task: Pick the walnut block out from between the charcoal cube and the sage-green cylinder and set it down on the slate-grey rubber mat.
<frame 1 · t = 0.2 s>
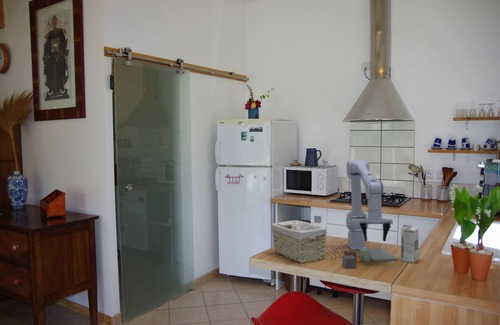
hand: (375, 240, 170), 10 cm above the counter, tool pointing down, fingers open, 7 cm apart
storage basket: (298, 256, 186), on the counter
charcoal cube: (349, 267, 167), on the counter
syrup box: (410, 261, 173), on the counter
sage cylinder: (365, 261, 175), on the counter
slate mat: (377, 255, 182), on the counter
walnut block: (350, 262, 174), on the counter
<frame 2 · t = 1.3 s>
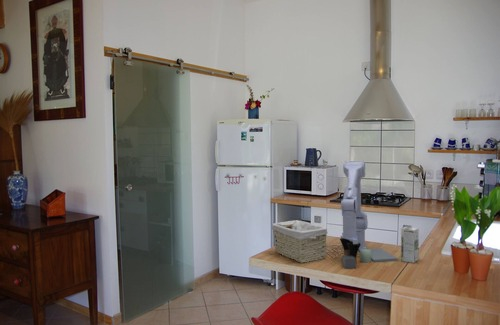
hand: (350, 256, 174), 2 cm above the counter, tool pointing down, fingers open, 7 cm apart
charcoal cube: (349, 267, 167), on the counter, touching gripper
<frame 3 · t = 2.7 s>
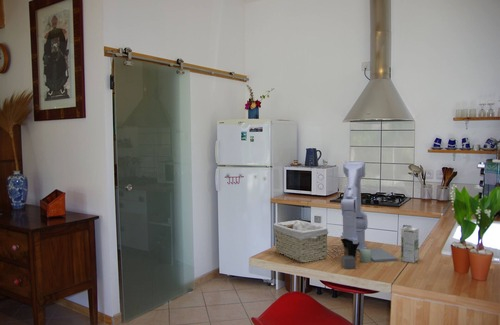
hand: (350, 256, 174), 3 cm above the counter, tool pointing down, fingers closed on walnut block, 4 cm apart
charcoal cube: (348, 267, 167), on the counter
walnut block: (350, 259, 174), point 1 cm above the counter, touching gripper
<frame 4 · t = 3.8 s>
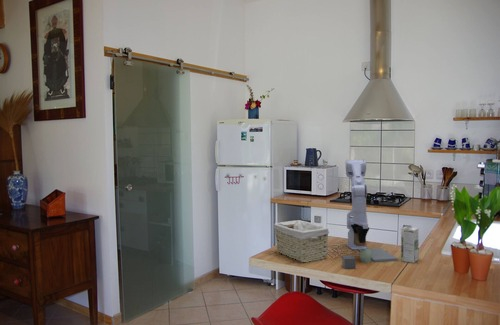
hand: (360, 241, 176), 8 cm above the counter, tool pointing down, fingers closed on walnut block, 4 cm apart
walnut block: (359, 244, 176), point 7 cm above the counter, touching gripper
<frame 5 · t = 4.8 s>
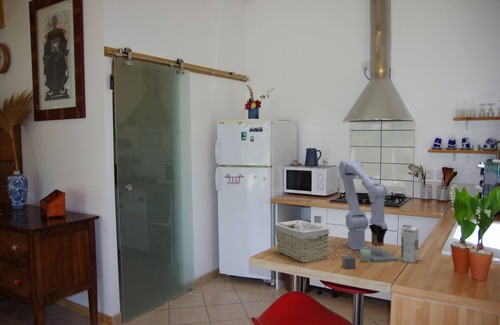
hand: (378, 241, 181), 7 cm above the counter, tool pointing down, fingers closed on walnut block, 4 cm apart
walnut block: (377, 244, 181), point 5 cm above the counter, touching gripper
when the fingers open (4 cm above the counter, at t = 5.7 s): walnut block drops 1 cm, resting on slate mat.
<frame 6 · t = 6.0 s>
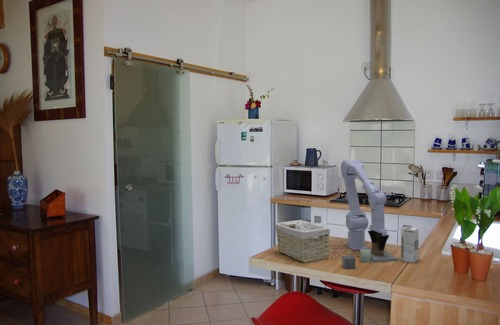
hand: (378, 247, 181), 4 cm above the counter, tool pointing down, fingers open, 7 cm apart
walnut block: (377, 254, 181), point 1 cm above the counter, touching slate mat
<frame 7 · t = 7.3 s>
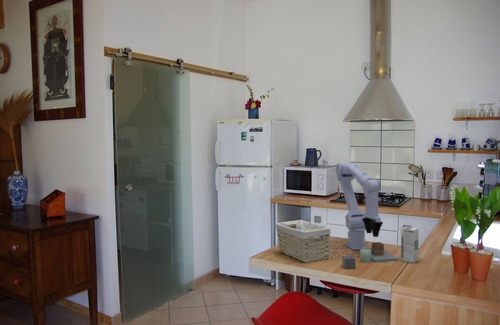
hand: (372, 234, 184), 9 cm above the counter, tool pointing down, fingers open, 7 cm apart
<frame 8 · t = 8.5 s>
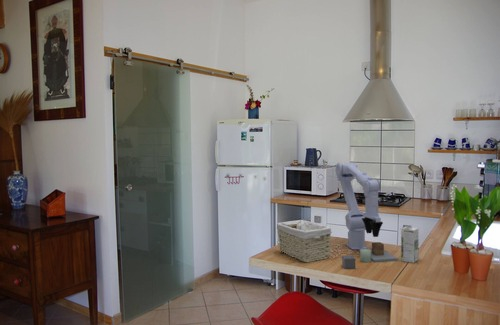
hand: (372, 234, 184), 9 cm above the counter, tool pointing down, fingers open, 7 cm apart
at the end: walnut block inside the target area on the slate mat (1.0 cm from its centre), point 1.0 cm above the slate mat's base; walnut block tilted 0°; the gripper is holding nothing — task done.
